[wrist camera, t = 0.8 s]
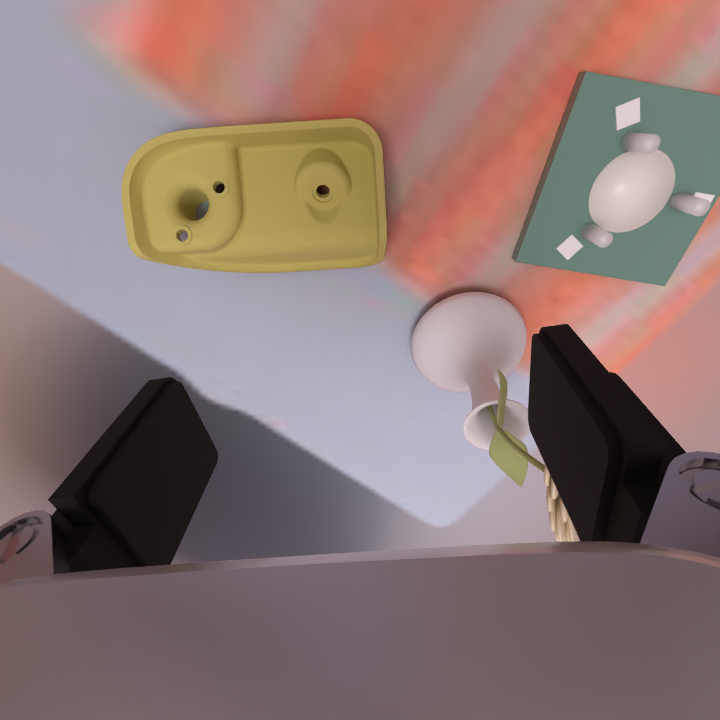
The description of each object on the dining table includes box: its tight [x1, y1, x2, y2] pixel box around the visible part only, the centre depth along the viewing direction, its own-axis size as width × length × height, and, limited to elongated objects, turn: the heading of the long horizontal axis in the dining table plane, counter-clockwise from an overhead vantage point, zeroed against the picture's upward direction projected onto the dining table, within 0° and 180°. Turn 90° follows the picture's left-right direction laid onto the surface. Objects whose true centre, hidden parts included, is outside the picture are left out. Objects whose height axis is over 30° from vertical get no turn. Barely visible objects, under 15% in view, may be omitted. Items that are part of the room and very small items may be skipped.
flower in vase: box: [411, 292, 577, 542], centre depth 30 cm, size 13×11×25 cm
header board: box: [512, 71, 720, 286], centre depth 31 cm, size 14×14×4 cm
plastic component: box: [122, 118, 387, 273], centre depth 34 cm, size 20×7×10 cm
